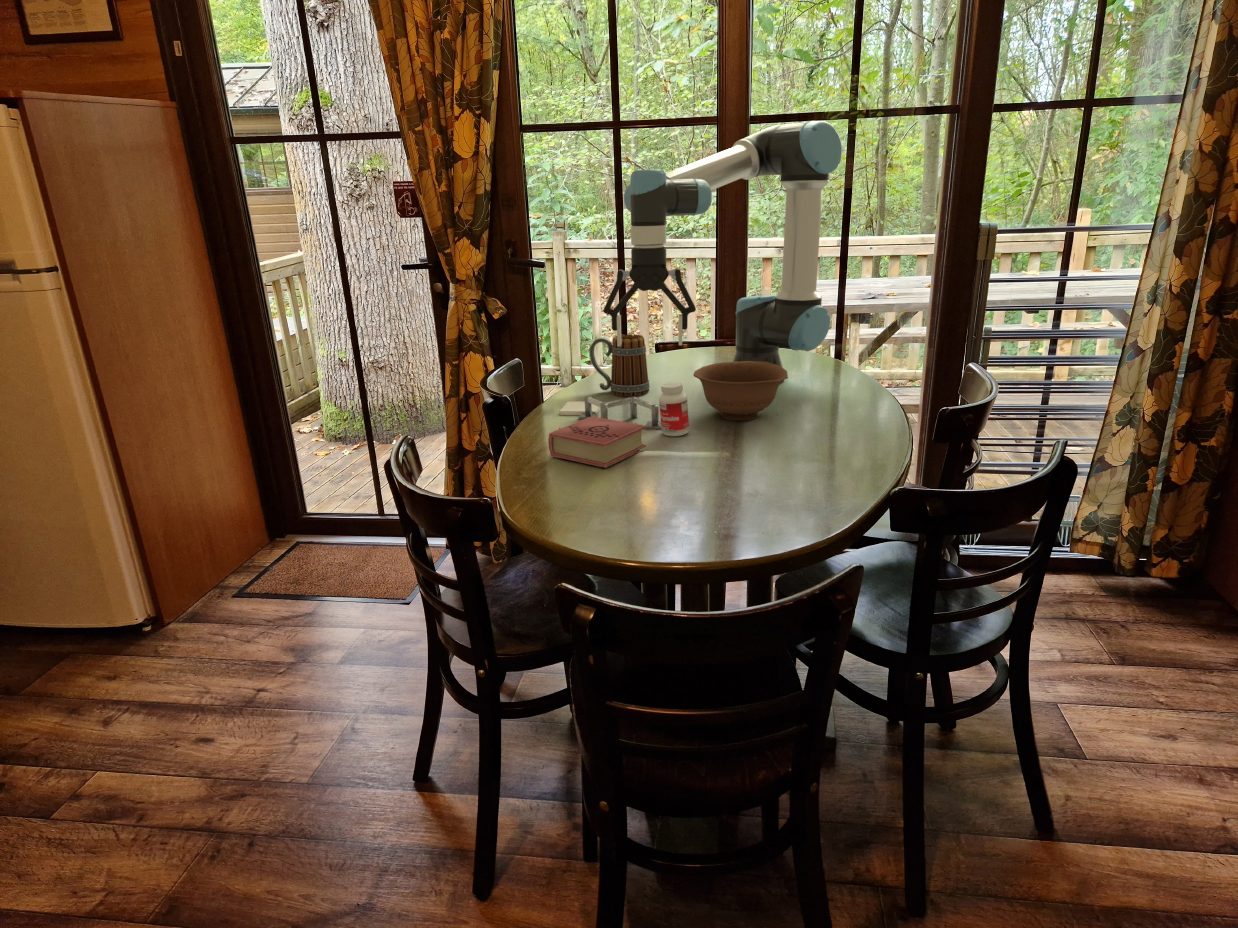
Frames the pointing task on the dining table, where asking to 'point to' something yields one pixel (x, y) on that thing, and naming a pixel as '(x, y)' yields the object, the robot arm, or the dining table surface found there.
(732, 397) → the bowl
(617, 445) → the book
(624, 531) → the dining table surface
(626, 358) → the mug
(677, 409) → the pill bottle
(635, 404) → the jointed bar linkage
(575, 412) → the pad
